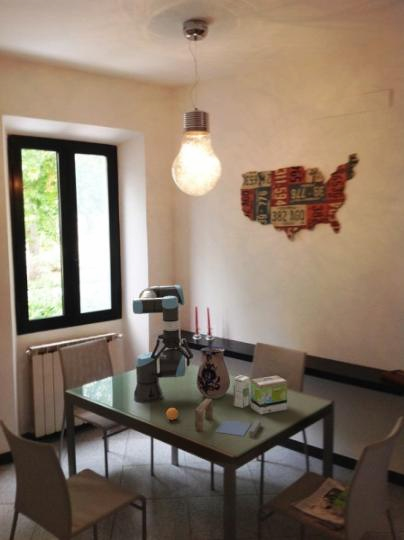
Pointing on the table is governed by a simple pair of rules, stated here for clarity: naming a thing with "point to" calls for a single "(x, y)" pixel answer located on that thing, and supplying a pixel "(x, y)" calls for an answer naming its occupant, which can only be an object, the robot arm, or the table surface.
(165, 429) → the table surface
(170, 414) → the ball
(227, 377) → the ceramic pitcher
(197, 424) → the bridge
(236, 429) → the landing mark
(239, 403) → the syrup box
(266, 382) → the tea box
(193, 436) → the table surface
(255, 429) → the stopper
